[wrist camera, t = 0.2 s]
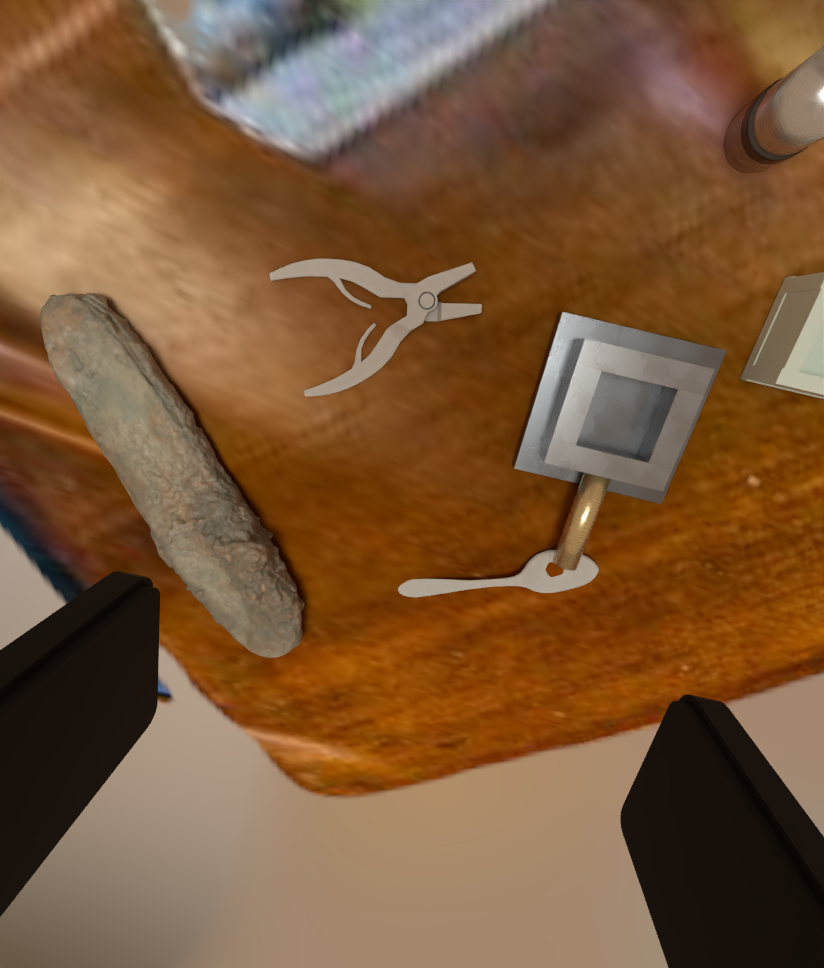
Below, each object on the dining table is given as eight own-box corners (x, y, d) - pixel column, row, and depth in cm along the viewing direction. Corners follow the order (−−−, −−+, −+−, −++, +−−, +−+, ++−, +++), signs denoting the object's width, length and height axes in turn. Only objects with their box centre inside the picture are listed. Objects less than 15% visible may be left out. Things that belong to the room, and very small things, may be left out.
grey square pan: (559, 312, 35) (570, 310, 31) (717, 350, 35) (746, 352, 31) (490, 534, 40) (494, 553, 37) (626, 567, 40) (642, 589, 37)
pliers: (263, 268, 34) (465, 211, 32) (271, 271, 36) (464, 217, 34) (303, 401, 37) (491, 357, 35) (308, 398, 39) (489, 355, 36)
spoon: (596, 582, 42) (601, 592, 40) (371, 611, 44) (368, 621, 43) (592, 540, 40) (597, 548, 39) (361, 572, 43) (358, 581, 42)
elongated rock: (134, 268, 38) (50, 327, 40) (79, 256, 33) (-12, 324, 35) (339, 624, 44) (255, 655, 47) (319, 659, 39) (227, 692, 42)
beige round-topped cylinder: (739, 92, 30) (821, 22, 23) (804, 106, 30) (905, 42, 23) (711, 166, 31) (782, 121, 25) (773, 181, 31) (860, 139, 25)
